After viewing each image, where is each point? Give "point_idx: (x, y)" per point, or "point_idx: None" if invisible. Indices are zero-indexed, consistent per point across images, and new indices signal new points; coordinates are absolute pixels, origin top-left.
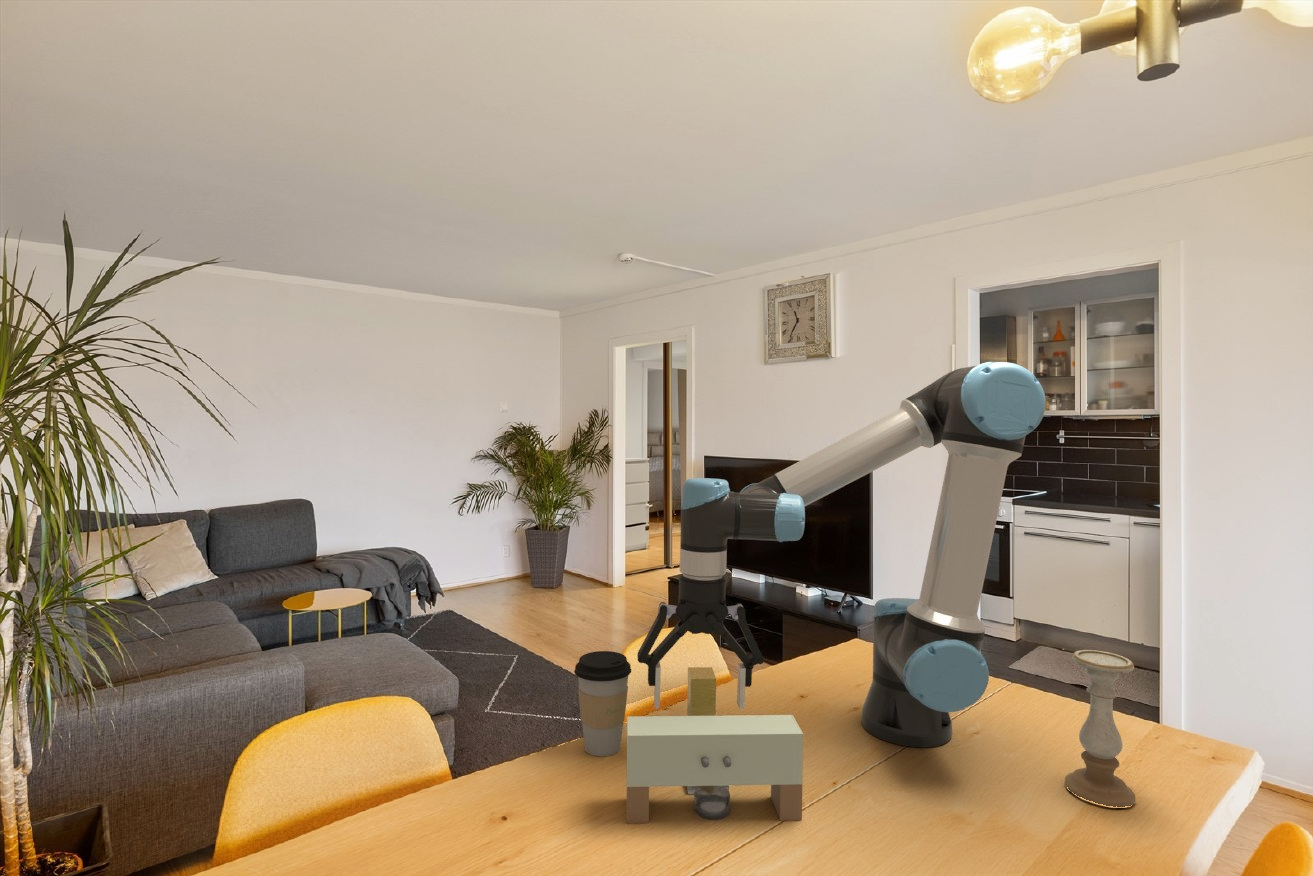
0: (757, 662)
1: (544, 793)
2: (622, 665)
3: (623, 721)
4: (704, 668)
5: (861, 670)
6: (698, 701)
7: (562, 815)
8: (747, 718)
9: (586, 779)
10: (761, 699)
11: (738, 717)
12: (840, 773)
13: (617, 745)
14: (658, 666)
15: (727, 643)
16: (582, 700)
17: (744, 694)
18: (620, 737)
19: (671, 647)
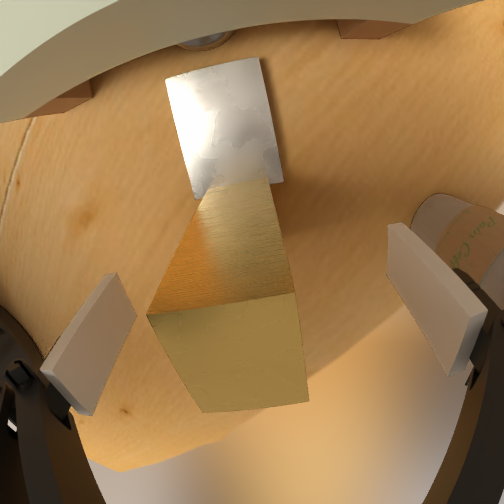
0: (4, 386)
1: (491, 75)
2: None
3: (436, 247)
4: (232, 403)
5: (92, 441)
6: (246, 241)
7: (455, 12)
8: (18, 38)
9: (453, 111)
10: (173, 407)
11: (43, 27)
12: (16, 215)
13: (422, 216)
14: (472, 332)
15: (58, 492)
16: None
17: (85, 303)
18: (423, 230)
19: (472, 442)
